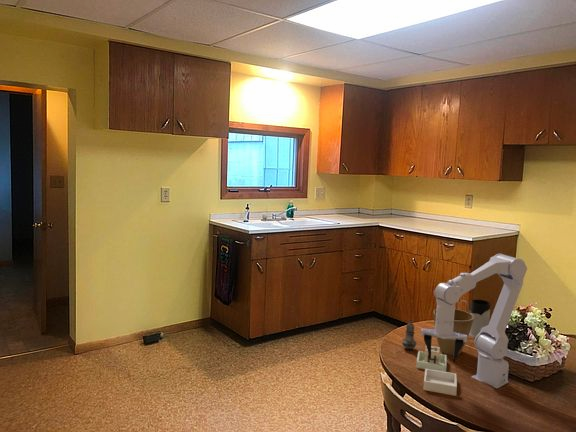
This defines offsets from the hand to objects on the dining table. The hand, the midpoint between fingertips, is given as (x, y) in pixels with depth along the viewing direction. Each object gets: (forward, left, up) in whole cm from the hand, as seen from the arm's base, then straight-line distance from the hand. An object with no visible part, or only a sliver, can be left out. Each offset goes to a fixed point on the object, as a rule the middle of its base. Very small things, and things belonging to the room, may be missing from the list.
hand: (441, 359), depth 155 cm
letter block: (+11, -11, -9) cm, 18 cm away
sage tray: (+11, -11, -9) cm, 18 cm away
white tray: (0, 0, -9) cm, 9 cm away
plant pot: (+14, -28, -10) cm, 33 cm away
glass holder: (+21, -56, -10) cm, 61 cm away
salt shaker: (+25, -16, -10) cm, 31 cm away
